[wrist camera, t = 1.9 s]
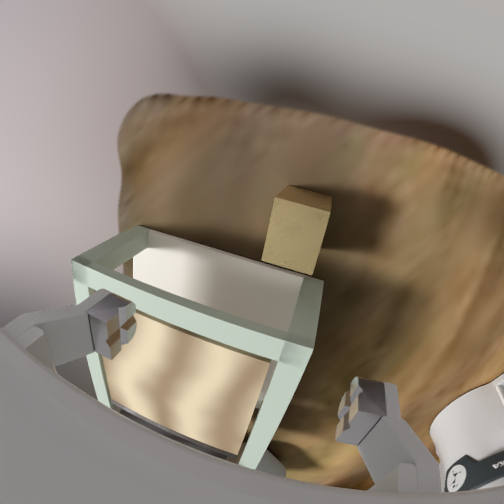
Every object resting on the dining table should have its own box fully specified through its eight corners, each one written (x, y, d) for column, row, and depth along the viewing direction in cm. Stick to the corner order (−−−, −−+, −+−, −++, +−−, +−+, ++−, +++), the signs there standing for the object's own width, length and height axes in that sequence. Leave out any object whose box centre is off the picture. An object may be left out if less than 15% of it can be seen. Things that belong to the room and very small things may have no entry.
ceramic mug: (266, 435, 40) (252, 475, 33) (291, 460, 41) (280, 496, 34) (216, 440, 44) (199, 473, 38) (242, 463, 46) (228, 495, 39)
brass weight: (332, 196, 26) (330, 212, 20) (317, 248, 28) (312, 275, 22) (288, 185, 26) (275, 197, 21) (276, 236, 28) (261, 260, 23)
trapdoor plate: (278, 339, 23) (263, 382, 19) (234, 462, 33) (222, 490, 28) (112, 279, 26) (77, 303, 22) (130, 417, 36) (112, 440, 31)
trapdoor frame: (324, 280, 29) (313, 349, 19) (274, 410, 37) (253, 471, 28) (137, 225, 32) (71, 259, 23) (139, 357, 41) (99, 403, 31)
